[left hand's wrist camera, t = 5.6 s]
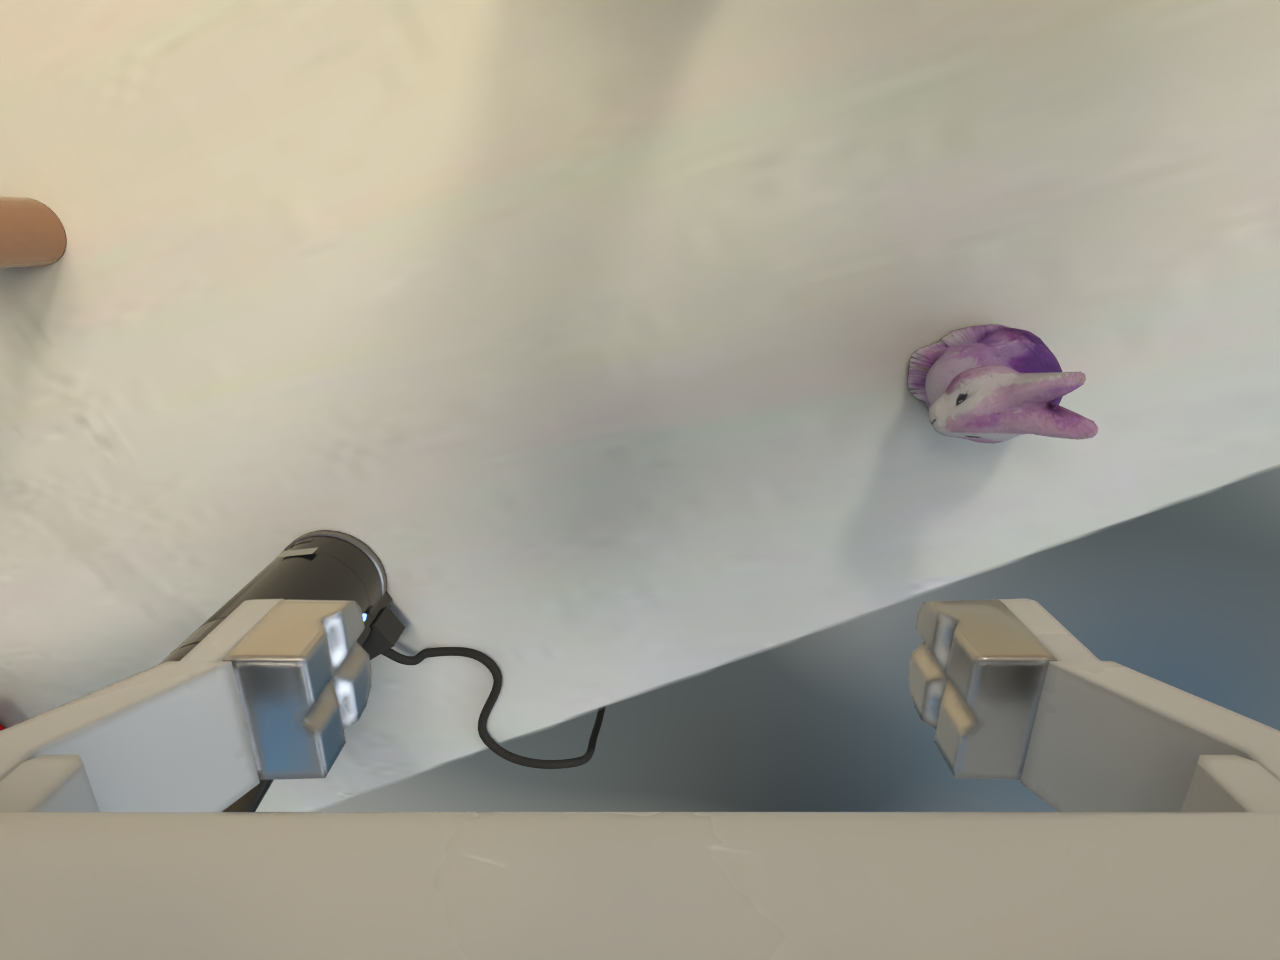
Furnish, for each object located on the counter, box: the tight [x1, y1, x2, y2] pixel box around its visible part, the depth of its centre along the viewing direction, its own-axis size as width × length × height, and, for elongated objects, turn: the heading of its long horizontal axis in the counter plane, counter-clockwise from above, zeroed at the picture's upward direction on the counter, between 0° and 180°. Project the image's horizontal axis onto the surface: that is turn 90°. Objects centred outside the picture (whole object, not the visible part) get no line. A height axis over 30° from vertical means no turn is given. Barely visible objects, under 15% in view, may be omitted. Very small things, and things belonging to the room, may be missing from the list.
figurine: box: [908, 325, 1098, 443], centre depth 49 cm, size 9×10×15 cm
